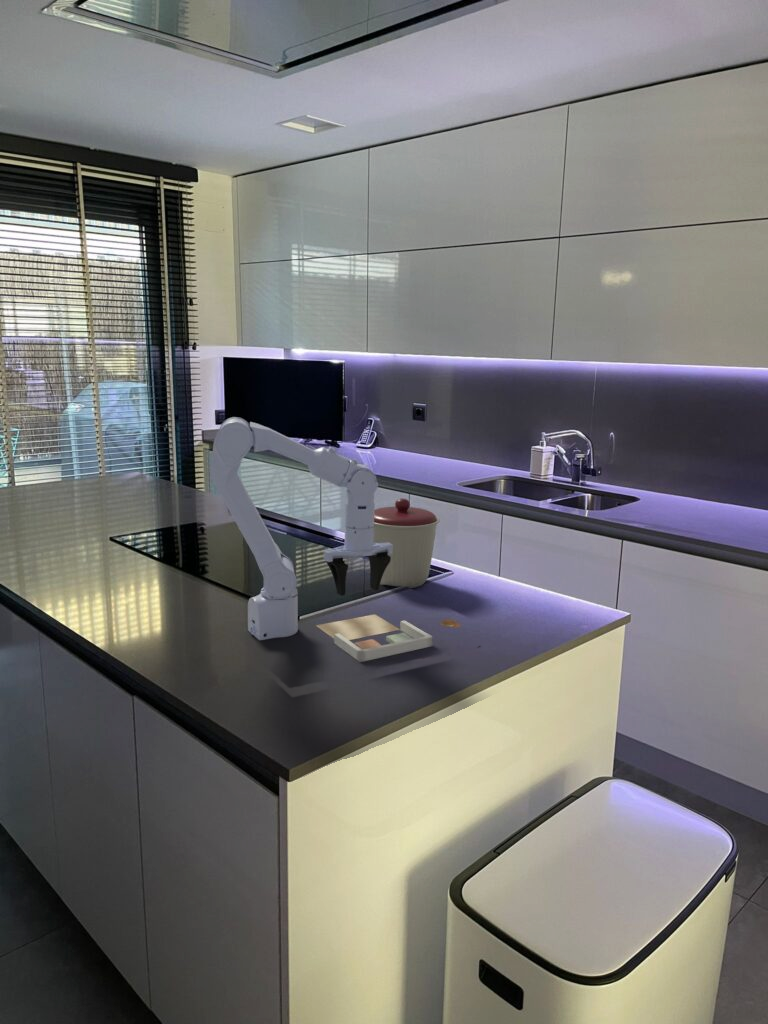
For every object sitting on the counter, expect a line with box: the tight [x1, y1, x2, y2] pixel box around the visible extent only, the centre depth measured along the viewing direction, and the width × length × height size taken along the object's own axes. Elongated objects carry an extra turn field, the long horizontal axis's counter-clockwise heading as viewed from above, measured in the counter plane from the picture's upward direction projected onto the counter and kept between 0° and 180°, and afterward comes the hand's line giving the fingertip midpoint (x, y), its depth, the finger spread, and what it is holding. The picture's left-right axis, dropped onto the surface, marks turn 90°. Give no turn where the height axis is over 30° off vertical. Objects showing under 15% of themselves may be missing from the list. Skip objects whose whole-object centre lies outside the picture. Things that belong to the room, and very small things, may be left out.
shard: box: [439, 618, 461, 629], centre depth 164 cm, size 11×8×2 cm
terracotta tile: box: [353, 638, 383, 650], centre depth 146 cm, size 4×4×2 cm
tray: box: [333, 619, 434, 663], centre depth 148 cm, size 16×10×3 cm, turn 121°
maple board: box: [315, 613, 401, 641], centre depth 157 cm, size 14×10×1 cm
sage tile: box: [385, 632, 414, 644], centre depth 150 cm, size 4×4×2 cm
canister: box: [373, 498, 441, 589], centre depth 188 cm, size 18×18×21 cm
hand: (357, 591), depth 155 cm, fingers open, 7 cm apart
